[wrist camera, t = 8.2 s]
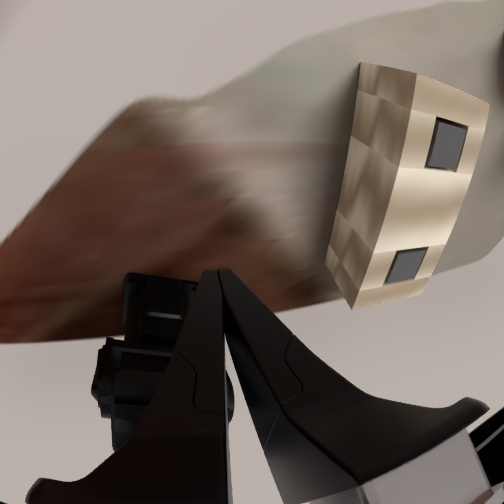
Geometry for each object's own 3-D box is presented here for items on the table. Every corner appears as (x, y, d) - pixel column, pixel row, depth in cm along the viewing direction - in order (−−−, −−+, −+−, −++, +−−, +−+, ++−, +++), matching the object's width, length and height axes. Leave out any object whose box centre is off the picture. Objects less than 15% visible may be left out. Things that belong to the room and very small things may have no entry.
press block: (390, 254, 29) (421, 293, 24) (324, 263, 27) (351, 310, 23) (436, 84, 18) (490, 104, 13) (360, 62, 16) (416, 73, 12)
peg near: (413, 143, 20) (455, 169, 16) (385, 139, 19) (428, 165, 15) (420, 108, 18) (466, 129, 14) (392, 102, 17) (439, 122, 14)
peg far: (384, 243, 26) (413, 278, 22) (358, 246, 25) (386, 283, 22) (393, 216, 24) (426, 250, 20) (366, 217, 24) (399, 254, 20)
